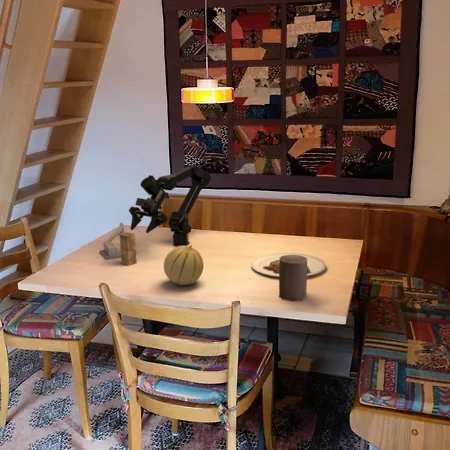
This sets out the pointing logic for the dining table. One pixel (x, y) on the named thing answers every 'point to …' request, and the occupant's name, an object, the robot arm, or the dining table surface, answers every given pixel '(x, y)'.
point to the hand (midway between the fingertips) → (138, 231)
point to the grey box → (110, 251)
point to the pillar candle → (292, 277)
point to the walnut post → (128, 248)
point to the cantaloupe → (183, 265)
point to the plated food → (271, 264)
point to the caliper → (115, 232)
